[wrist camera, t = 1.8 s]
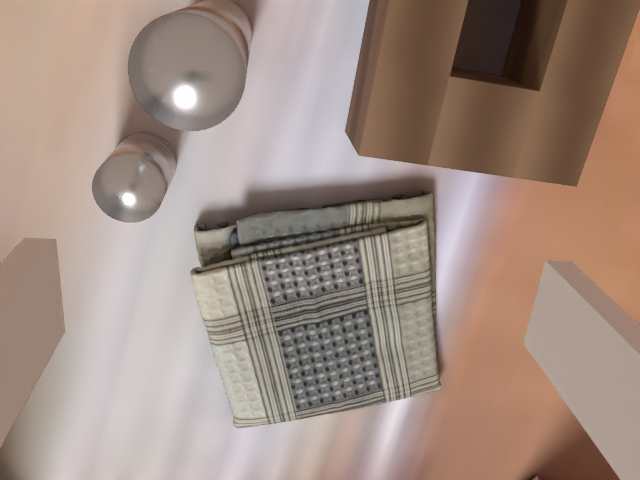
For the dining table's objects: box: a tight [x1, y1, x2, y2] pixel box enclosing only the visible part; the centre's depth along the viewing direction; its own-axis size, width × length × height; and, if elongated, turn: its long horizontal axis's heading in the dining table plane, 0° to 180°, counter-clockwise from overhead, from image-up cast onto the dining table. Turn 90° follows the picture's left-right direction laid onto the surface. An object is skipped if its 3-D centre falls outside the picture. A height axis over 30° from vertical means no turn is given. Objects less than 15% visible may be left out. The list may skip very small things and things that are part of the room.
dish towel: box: [191, 190, 441, 428], centre depth 45 cm, size 19×18×3 cm
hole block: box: [345, 0, 640, 187], centre depth 35 cm, size 14×16×6 cm
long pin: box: [128, 0, 252, 131], centre depth 29 cm, size 4×4×18 cm
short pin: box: [92, 132, 176, 222], centre depth 37 cm, size 4×4×6 cm
